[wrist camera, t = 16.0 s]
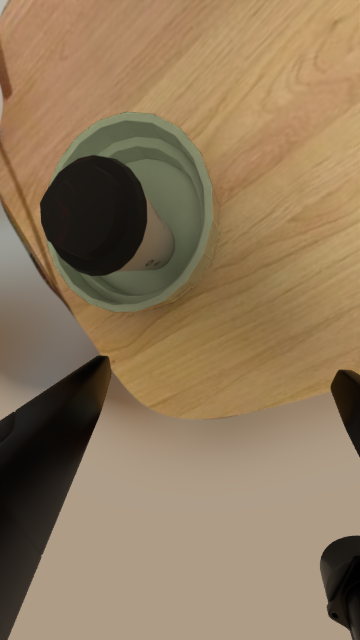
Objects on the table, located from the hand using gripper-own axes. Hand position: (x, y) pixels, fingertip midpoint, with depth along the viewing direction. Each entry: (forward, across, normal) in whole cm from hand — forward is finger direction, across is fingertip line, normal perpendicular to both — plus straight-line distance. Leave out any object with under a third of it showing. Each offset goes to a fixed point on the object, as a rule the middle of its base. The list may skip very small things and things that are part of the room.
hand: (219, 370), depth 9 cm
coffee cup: (+16, +5, -1) cm, 16 cm away
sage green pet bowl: (+17, +6, -2) cm, 18 cm away
